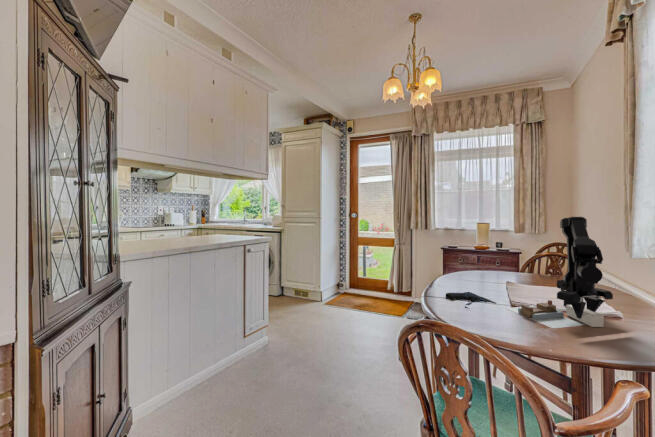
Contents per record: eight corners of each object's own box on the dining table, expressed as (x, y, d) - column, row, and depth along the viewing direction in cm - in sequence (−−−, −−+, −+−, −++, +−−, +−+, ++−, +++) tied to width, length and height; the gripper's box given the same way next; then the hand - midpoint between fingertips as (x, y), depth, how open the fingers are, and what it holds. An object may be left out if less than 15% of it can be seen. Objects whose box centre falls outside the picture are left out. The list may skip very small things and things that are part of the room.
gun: (479, 316, 126) (506, 311, 130) (479, 309, 125) (507, 305, 130) (441, 298, 148) (466, 294, 153) (441, 292, 148) (466, 289, 153)
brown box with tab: (546, 312, 122) (546, 298, 122) (555, 315, 118) (556, 301, 118) (521, 314, 120) (521, 301, 120) (529, 318, 116) (529, 304, 116)
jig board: (533, 308, 130) (533, 301, 130) (585, 328, 108) (585, 319, 108) (505, 310, 128) (505, 303, 128) (553, 331, 106) (553, 323, 106)
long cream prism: (576, 314, 118) (576, 304, 118) (603, 326, 106) (603, 315, 106) (566, 314, 118) (566, 304, 118) (592, 326, 106) (592, 315, 106)
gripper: (583, 270, 121) (582, 308, 121) (544, 273, 117) (543, 312, 118) (614, 276, 110) (613, 318, 110) (571, 280, 107) (571, 323, 107)
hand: (584, 317), depth 112 cm, fingers closed on long cream prism, 4 cm apart
